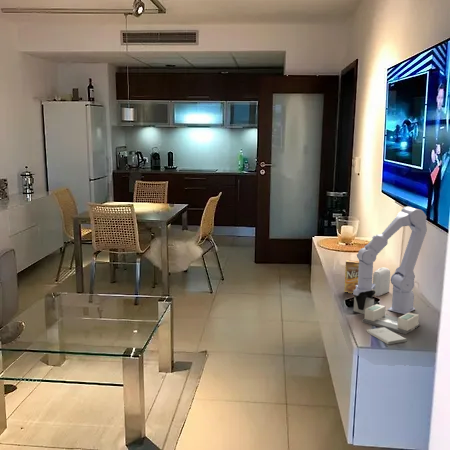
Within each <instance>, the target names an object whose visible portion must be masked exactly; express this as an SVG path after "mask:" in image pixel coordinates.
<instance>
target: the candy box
mask: <svg viewBox="0 0 450 450" xmlns="http://www.w3.org/2000/svg"><path fill="white" fill-rule="evenodd" d="M344 267H345V269H344V270H345V271H344V291H343V293H344V292H348V294H352V293H353V290H355V289H356V287H355V286H356V285H358V271H359V260H351V259H347V260H345V266H344Z"/></svg>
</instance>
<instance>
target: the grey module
mask: <svg viewBox="0 0 450 450" xmlns="http://www.w3.org/2000/svg"><path fill="white" fill-rule="evenodd" d="M353 297H354V298H353V311H354V312H355V313H360V314H363V315H365V309H366V308H369V307H371V306H373V305H375V298H368V297H367V298H366V300H365V305H364V309H363V310H360V309H358V305H357V301H356V298H355V296H353Z"/></svg>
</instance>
